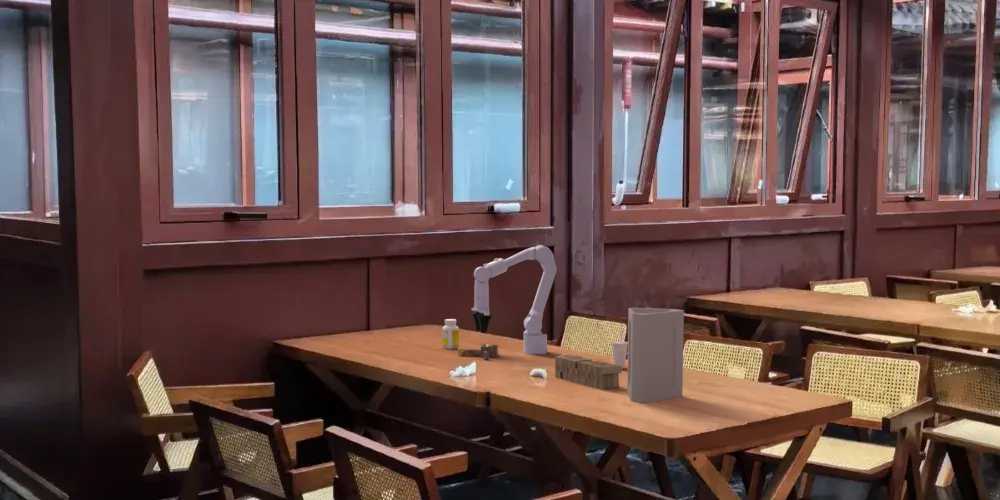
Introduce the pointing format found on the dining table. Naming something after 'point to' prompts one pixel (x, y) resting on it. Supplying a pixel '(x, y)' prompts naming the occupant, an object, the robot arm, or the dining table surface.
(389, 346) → the dining table surface
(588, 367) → the block tower
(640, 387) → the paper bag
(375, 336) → the dining table surface
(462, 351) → the knob-topped wooden stand
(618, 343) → the smoothie
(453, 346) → the supplement bottle
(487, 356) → the dowel
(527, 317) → the robot arm
